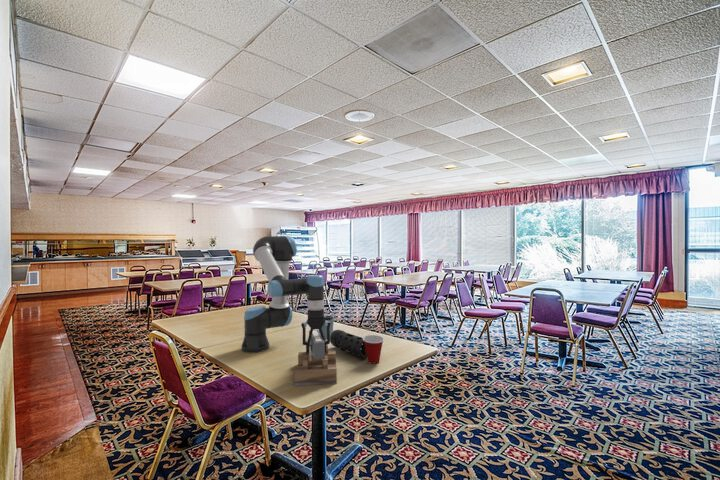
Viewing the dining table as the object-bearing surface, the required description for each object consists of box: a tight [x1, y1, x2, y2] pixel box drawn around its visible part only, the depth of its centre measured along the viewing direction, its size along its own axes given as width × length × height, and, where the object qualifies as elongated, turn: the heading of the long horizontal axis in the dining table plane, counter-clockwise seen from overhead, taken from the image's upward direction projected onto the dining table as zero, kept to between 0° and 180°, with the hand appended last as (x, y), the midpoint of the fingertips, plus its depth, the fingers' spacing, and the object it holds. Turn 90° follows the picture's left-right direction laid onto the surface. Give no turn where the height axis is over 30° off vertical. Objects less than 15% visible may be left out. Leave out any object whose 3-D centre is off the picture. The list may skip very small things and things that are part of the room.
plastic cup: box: [362, 334, 385, 364], centre depth 174 cm, size 11×11×12 cm
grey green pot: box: [318, 316, 335, 340], centre depth 219 cm, size 10×10×12 cm
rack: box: [293, 344, 338, 386], centre depth 160 cm, size 26×18×10 cm
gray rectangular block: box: [308, 329, 325, 360], centre depth 160 cm, size 4×22×7 cm, turn 14°
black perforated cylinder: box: [329, 329, 367, 360], centre depth 189 cm, size 10×28×10 cm, turn 39°
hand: (316, 359), depth 160 cm, fingers closed on gray rectangular block, 5 cm apart
